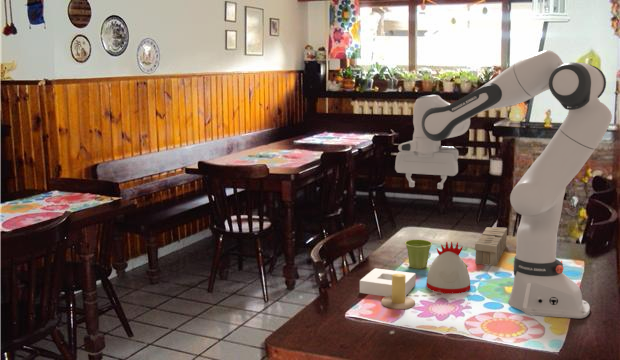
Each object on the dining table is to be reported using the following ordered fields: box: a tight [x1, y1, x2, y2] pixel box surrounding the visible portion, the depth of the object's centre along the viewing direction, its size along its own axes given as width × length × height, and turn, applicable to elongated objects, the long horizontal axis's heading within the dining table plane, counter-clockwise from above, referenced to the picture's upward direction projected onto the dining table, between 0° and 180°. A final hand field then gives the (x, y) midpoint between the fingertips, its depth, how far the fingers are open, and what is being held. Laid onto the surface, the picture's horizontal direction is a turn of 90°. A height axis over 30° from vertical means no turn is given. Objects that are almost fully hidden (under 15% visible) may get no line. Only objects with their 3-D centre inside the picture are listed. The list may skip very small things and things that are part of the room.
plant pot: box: [404, 239, 433, 270], centre depth 231 cm, size 9×9×9 cm
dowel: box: [392, 274, 406, 304], centre depth 195 cm, size 4×4×8 cm
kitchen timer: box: [426, 241, 471, 295], centre depth 209 cm, size 14×14×15 cm
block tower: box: [474, 226, 508, 266], centre depth 244 cm, size 8×8×29 cm
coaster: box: [381, 295, 416, 310], centre depth 196 cm, size 10×10×1 cm
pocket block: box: [359, 267, 417, 297], centre depth 208 cm, size 14×14×4 cm
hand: (425, 187), depth 212 cm, fingers open, 8 cm apart
